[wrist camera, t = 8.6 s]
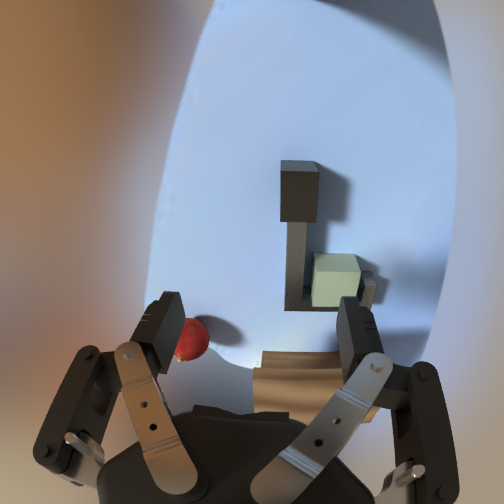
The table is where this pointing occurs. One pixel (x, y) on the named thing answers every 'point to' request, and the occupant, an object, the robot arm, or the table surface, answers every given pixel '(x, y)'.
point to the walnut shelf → (298, 383)
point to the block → (333, 278)
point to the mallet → (297, 216)
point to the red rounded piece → (192, 341)
